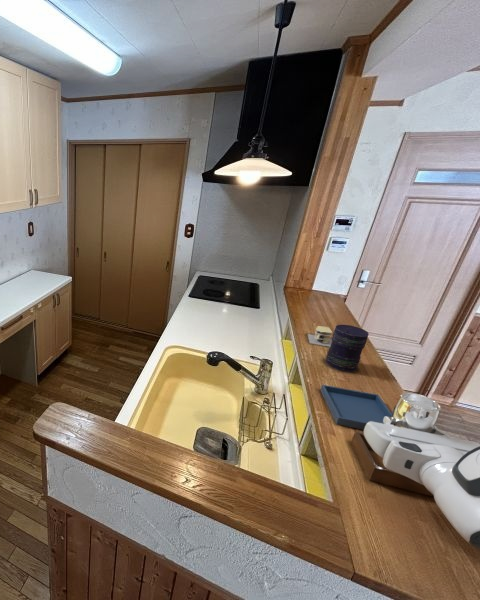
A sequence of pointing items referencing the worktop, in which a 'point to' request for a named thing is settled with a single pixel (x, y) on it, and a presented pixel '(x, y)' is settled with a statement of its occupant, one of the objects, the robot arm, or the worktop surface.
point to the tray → (354, 406)
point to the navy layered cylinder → (346, 348)
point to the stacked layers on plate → (321, 336)
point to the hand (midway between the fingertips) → (407, 422)
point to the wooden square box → (382, 473)
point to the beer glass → (416, 412)
